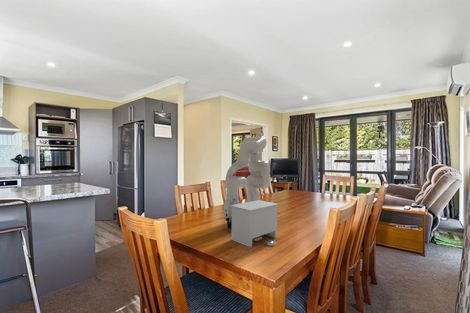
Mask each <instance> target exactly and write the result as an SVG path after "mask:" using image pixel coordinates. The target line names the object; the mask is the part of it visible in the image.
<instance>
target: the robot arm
mask: <svg viewBox="0 0 470 313" xmlns="http://www.w3.org/2000/svg"><path fill="white" fill-rule="evenodd" d="M267 143H268V142H267V139H266V137H265V136H247V137H245V138H243V140H242V142H241V143H240V145H239V149H238V153H237V157H236V161H234V162H233V164H231V166H229V168H228V170H227V172H226V175H225V179H224V180H225V181H224V183H225V187H226V188H225V193H226V194H225V195H226V196H225V200H224V205H223V216H222V219H224V220H225V221H226V222H227V224H226V227H227V228H226V229H228V228H230V229H231V217H232V207H230V205H235V204H241V202H240V200H239V197H240V195H239V189H245V187H246V192H247V193H246V194H247V195H246V198H247V199H246V202H251V201H257V200H261V193H260V191H259V189H265V190H266V189H268V188H269V187H270V177H271V176H270V174H271V171H270V170H271V169H270V168H271V166H270V162H268V161H267V160H261V152H262V151H263V150H265V148H266V147H267ZM247 166H248V172H249V173H250V175H248V176H247V177H245V176H237V175H236V176H235V173H236V172H237V171H239V170H240V169H243V168H245V167H247ZM259 174H261V175H259Z"/></svg>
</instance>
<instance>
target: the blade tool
mask: <svg viewBox="0 0 470 313" xmlns="http://www.w3.org/2000/svg"><path fill="white" fill-rule="evenodd" d="M227 231H229V232H231V233H232V217H231V229H230V228H227ZM262 239H263V237H262V235H261V236H258V237H255V238H252V241H255V242H256V241H260V240H262Z"/></svg>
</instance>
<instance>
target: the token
mask: <svg viewBox="0 0 470 313" xmlns="http://www.w3.org/2000/svg"><path fill="white" fill-rule="evenodd" d="M265 245H266V246H268V247H275V246H276V241H275V240H272V239H269V240H268V239H267V240H265Z"/></svg>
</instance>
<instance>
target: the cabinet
mask: <svg viewBox="0 0 470 313" xmlns="http://www.w3.org/2000/svg"><path fill="white" fill-rule="evenodd" d="M278 206H279V203H276V202H272V201H271V202H270V201H265V200H261V199H260V200H257V201H251V202H247V201H246V202H242V203H241V202H240V204H235V205H230V207H232V232H231V240H232V241H234V242H236V243H239V244H242V245H244V246H246V247H248V248H252V247H253V240H252V238H255V237H258V236H261V237H262V236H264V235H266V236H269V237H272V238H275V239H276V238H277V237H278Z"/></svg>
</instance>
